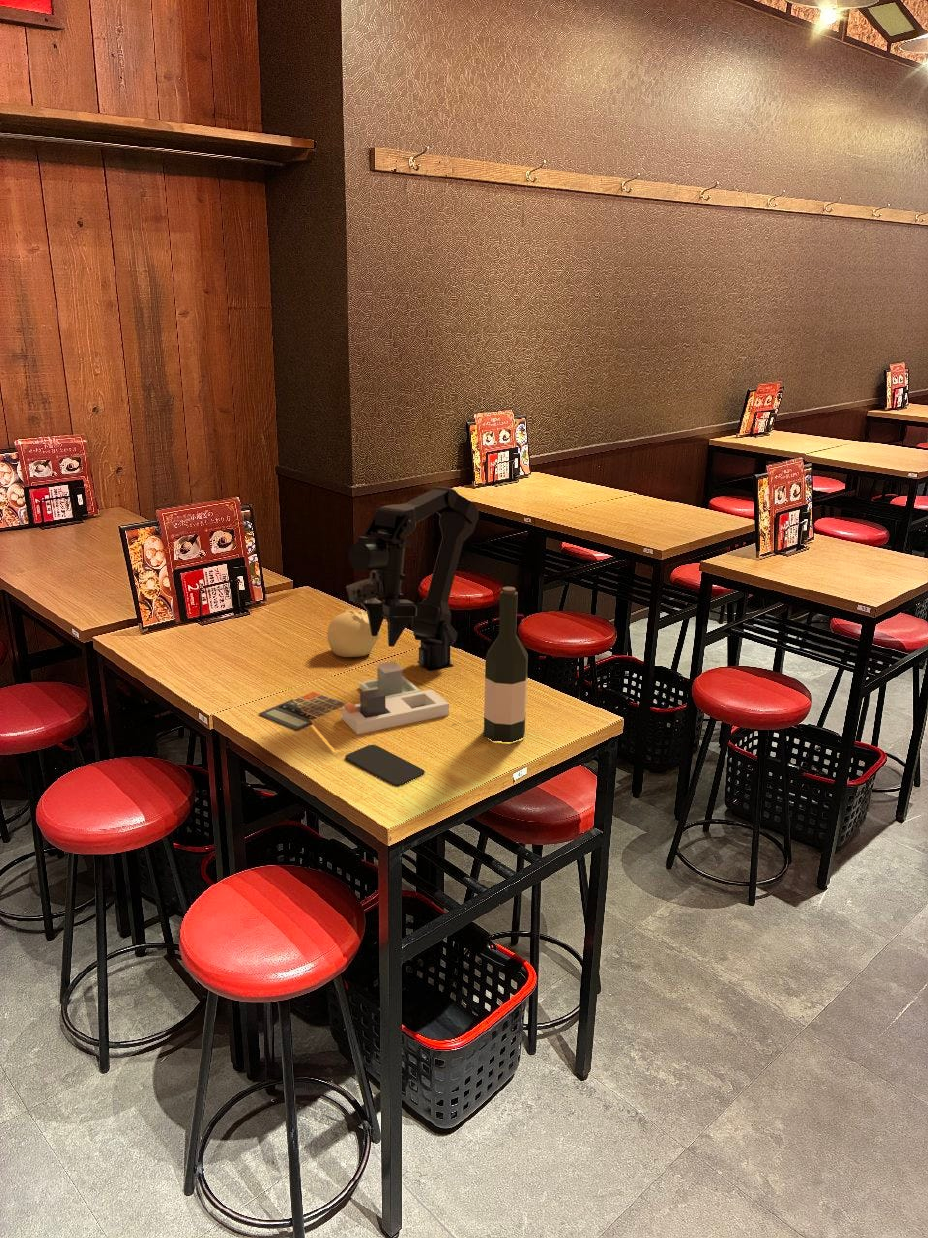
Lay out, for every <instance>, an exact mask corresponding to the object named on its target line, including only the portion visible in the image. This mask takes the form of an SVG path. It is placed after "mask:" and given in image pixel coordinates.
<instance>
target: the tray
mask: <svg viewBox="0 0 928 1238" xmlns="http://www.w3.org/2000/svg"><path fill="white" fill-rule="evenodd" d="M358 683H359V685H358V686H359V687H358V688H359V689H360V690H362V691H361V692H364V691H369V690H374V689H378V678H375V679H371V680H365V681H361V682H358ZM421 691H422V690H421V689H420V688H418V686H416V685H415V684H413V683H412V682H411V681H410V680H408V679H407V677H405V676H404V675H402V693H399V694H394V695H389V696H385V699H386V698H391V697H396V696H401V695H406V694H411V693H416V692H421Z"/></svg>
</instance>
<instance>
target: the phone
mask: <svg viewBox="0 0 928 1238" xmlns="http://www.w3.org/2000/svg"><path fill="white" fill-rule="evenodd" d="M345 761H347V762H348V763H350V764H352V765H354V766H356V767H357V768H359V769H361V770H363V771H365V772H367V773H369V774H370V773H371V775H372V774H373V776H374V777H376V776H377V777H376V778H378V779H380V780H382V781H383V782H385V781H386V782H385V783H387V782H388V783H387V784H389V783H390V784H389V785H391V784H392V785H391V786H393V785H395V786H394V787H401V786H400V785H402V786H404V785H406V784H408V783H410V782H409V781H411V780H413V779H415V778H417V777H419V776H421V775H423V774H424V773H425V774H426V771H425V770H424V769H422V768H421V767H419V766H417V765H416V764H413V763H412V762H409V761H408V760H406V759H404V758H402V757H399V756H398V755H396V754H394V753H392V752H390V751H388V750H387V749H384V748H382V747H381V746H379V745H377V744H370V745H369V744H368V745H366V746H364V747H360V748H358V749H357V750H354V751H352V752H350V753H347V754H346V755H345ZM425 774H424V775H425ZM424 775H423V776H424ZM421 777H422V776H421ZM419 778H420V777H419ZM417 779H418V778H417ZM415 780H416V779H415ZM413 781H414V780H413ZM407 782H408V783H407ZM411 782H412V781H411ZM405 783H406V784H405ZM403 784H404V785H403Z"/></svg>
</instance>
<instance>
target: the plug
mask: <svg viewBox="0 0 928 1238" xmlns="http://www.w3.org/2000/svg"><path fill="white" fill-rule="evenodd" d="M376 665H377V672H376V673H377V675H376V676H377V678H376V679H378V690H380V691H381V692H382V693H383V694H384V695H385V696H389V695H394V694H399V693H402V676H403V667H402V666H401V665H399V664H398V663H397V662H396V661H388V662H382V663H377V664H376Z"/></svg>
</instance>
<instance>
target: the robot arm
mask: <svg viewBox="0 0 928 1238" xmlns="http://www.w3.org/2000/svg"><path fill="white" fill-rule="evenodd" d="M434 514H437V515H438V516H439V521H438V525H439V528H440V531H441V535H442V538H441V541H440V546H439V549H438V554H437V558H436V560H435V564H434V568H433V572H432V576H431V580H430V584H429V588H428V591H427V594H426V598H423V600H422V601H421V602H419V601H417V603H414V602H413V601H411V600H409V599H405V594H403V593H402V581H406V577H407V575H406V574H403V571H404V570H403V569H404V560H405V549H406V547H408V548H409V547H411V545H412V543H411V542H410V540H409V539H407V536H409V535H410V534H411V533H412V532H413V531H414V530H416V527H417V524H418V523H419V522H420V521H422V520H425V519H426V518H428V517H430V516H432V515H434ZM479 519H480V512H479V509H478V507H477V505H476V504H474V503H473V502H472V501H471V500H470V499H468V498H466V497H464V496H462V495H460V494H459V493H458V492H457V490H455V489H453V488H452V487H447V486H439V485H437V486H433V487H432V488H431V490H429V491H427V492H425V493H422V494H421V495H418V496H416V497H415V498H412V499H410V500H409V501H408V500H407V502H404V503H399V504H398V503H397V504H396V503H395V504H387V505H383V506H380V507H379V508H377V509H376V511H375V514H374V516H373V518H372V519H371V521H370V522H369V525H368V527H367V528H366V530H365V532H364V533H363V536H358V537H357V542H356V543H354V544H353V545H351V547H350V549H349V551H348V554H347V558H348V563H349V565H350V566H351V569H353V570H355V571H357V572H367V571H370V572H369V578H366V579H362V580H359V581H356V582H353V583H350V584H347V585H346V587H345V588H346V591H347V596H348V599H349V602H353V604H354V605H361V606H362V607H363V608H364V609H365V611H366V613H367V615H368V619H369V624H370V630H371V635H372V636H377V634H378V632H379V633H380V629H381V627H382V624H383V621H384V619H385V620H386V622H387V643H388V647H395V645H396V644H397V642H398V641H399V638H400V637H401V635H402V634H403V632H404V631H405V629H406V627H407V626H408V624H409V623H410V622H411V623H410V625H411V629H412V632H413V636H414V640H415V641H420V647H418V661H417V663H418V664H419V665H420V666H421V667H422V668H424V669H425V670H427V671H428V672H432V671H437V670H443V669H447V668H453V667H454V666H455V665H454V664H453V663H451V646H454V643H456V642H457V637H458V631H457V630H456V629H455V628H454V626H453V625H452V624H451V620H452V612H451V609H450V606H449V599H450V595H451V592H452V587H453V583H454V580H455V576H456V572H457V568H458V565H459V561H460V557H461V553H462V550H463V545H464V542H465V541H466V540H467V539H468V538H470V536H471V535H472V534H473V533H474V531H475V529H476V525H477V523H478V521H479Z"/></svg>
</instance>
